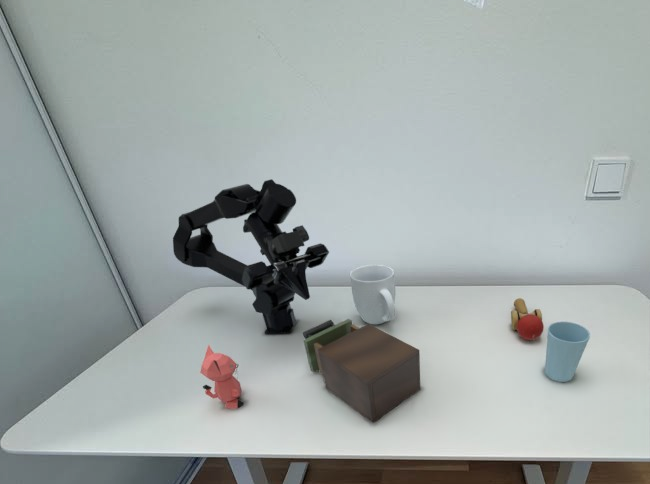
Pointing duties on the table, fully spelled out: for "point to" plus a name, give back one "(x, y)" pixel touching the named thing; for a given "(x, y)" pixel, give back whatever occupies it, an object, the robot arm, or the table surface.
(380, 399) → the cabinet
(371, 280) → the mug
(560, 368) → the cup
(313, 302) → the table surface
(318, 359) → the drawer
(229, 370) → the cat figurine
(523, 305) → the kendama
